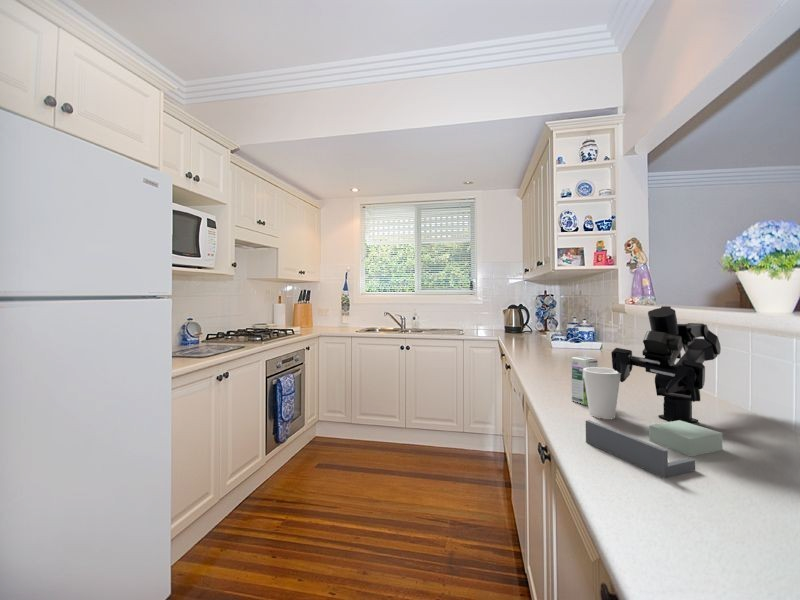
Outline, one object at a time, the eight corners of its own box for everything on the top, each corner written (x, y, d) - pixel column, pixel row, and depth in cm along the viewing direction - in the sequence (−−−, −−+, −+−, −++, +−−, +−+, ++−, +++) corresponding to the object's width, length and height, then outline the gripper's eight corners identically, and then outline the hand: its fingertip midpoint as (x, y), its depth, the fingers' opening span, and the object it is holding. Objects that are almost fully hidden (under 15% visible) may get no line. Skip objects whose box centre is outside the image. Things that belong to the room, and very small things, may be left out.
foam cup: (621, 423, 95) (620, 375, 95) (582, 417, 100) (581, 371, 100) (621, 413, 103) (620, 369, 103) (585, 408, 108) (584, 366, 108)
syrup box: (570, 401, 116) (570, 357, 116) (583, 398, 119) (582, 355, 119) (586, 405, 111) (585, 359, 111) (598, 403, 114) (598, 358, 114)
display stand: (613, 437, 86) (612, 416, 86) (695, 470, 69) (694, 444, 69) (585, 441, 83) (585, 420, 83) (664, 477, 66) (663, 451, 66)
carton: (679, 436, 87) (679, 420, 87) (722, 451, 78) (722, 432, 78) (649, 442, 84) (649, 425, 84) (690, 457, 75) (690, 439, 75)
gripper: (621, 319, 96) (597, 348, 87) (712, 330, 82) (694, 366, 73) (624, 354, 100) (601, 385, 91) (711, 371, 85) (693, 409, 77)
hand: (643, 385), depth 83 cm, fingers open, 9 cm apart
